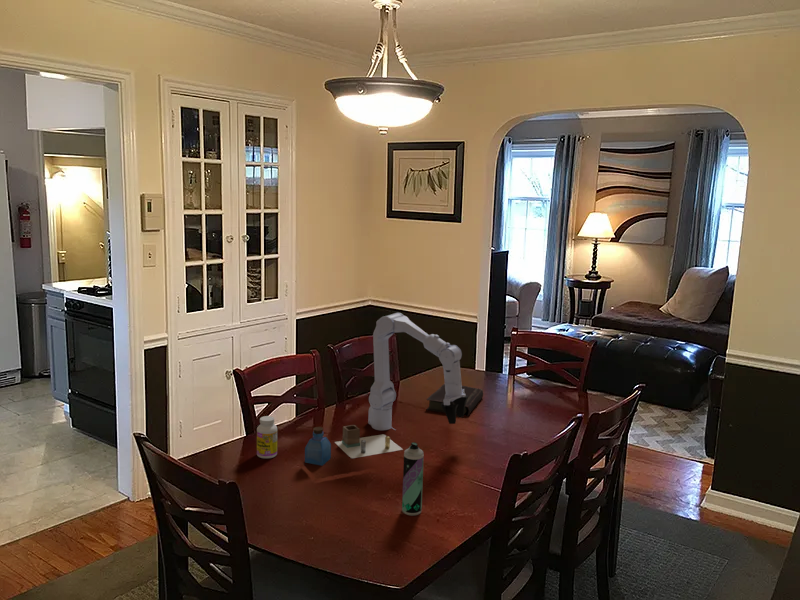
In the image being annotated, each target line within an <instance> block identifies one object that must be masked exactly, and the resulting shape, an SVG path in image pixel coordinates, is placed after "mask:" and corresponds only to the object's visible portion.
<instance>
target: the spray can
mask: <svg viewBox="0 0 800 600" xmlns="http://www.w3.org/2000/svg"><path fill="white" fill-rule="evenodd" d="M403 452H404V453H403V467H402V468H403V469H402V470H403V471H402V474H403V475H402V499H401V500H402V502H401V512H402V513H403V514H405V515H407V516H418V515H420V514H421V513H422V510H423V509H422V506H423V486H424V485H423V483H424V482H423V481H424V478H423V477H424V458H425V457H424V456H425V455H424V450H422V449H421V448H420V447H419V446H418V442H411V443H410V446H409V447H408V448H406V449H405V450H404V451H403Z"/></svg>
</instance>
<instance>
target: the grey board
mask: <svg viewBox="0 0 800 600" xmlns="http://www.w3.org/2000/svg"><path fill="white" fill-rule="evenodd" d="M386 436H387V435H386V434H383V433H382V434H378V435H371V436H370V435H369V436H365V437H360V446H356V447H350V448H347V447H346V446H345V445H344V444H342V440H341V441H340V440H339V441H334V444H336V445H337V446H338V447H339V448H340V449H341V450H342V452H344V453H345V454H346V455H347V456H348V457H350V459H356V458H363V457H369V456H375V455H380V454H386V453H392V452H396V451H398V452H399V451H403V450H404V449H403V448H402V447H401V446H400V445H398V444H397V443H395V442H394V441H393V440H392V439H391V438H390V449H385V437H386ZM362 440H365V441H366V453H361V441H362Z"/></svg>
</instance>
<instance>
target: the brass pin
mask: <svg viewBox="0 0 800 600" xmlns="http://www.w3.org/2000/svg"><path fill="white" fill-rule="evenodd" d="M390 439H391V437H390V435H389V436H388V435H386V437H385V449H390Z"/></svg>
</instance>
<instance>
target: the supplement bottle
mask: <svg viewBox="0 0 800 600" xmlns="http://www.w3.org/2000/svg"><path fill="white" fill-rule="evenodd" d="M259 423H260V424H259V425H258V426H257V428H256V455H257V457H258V458H261V459H272V458H275V457H276V456H277V455H278V427H277V425H276V424H275V417H273V416H271V415H266V416H265V415H264V416H261V417H260V418H259Z"/></svg>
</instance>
